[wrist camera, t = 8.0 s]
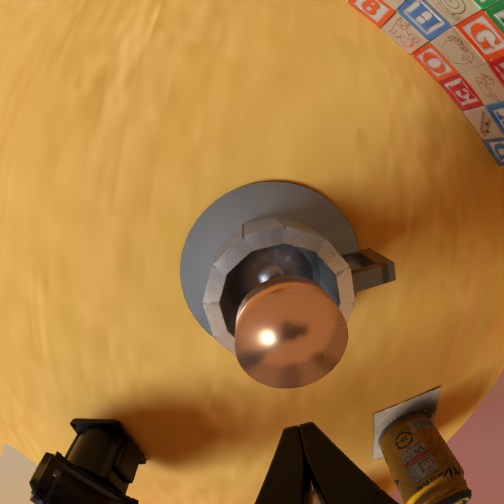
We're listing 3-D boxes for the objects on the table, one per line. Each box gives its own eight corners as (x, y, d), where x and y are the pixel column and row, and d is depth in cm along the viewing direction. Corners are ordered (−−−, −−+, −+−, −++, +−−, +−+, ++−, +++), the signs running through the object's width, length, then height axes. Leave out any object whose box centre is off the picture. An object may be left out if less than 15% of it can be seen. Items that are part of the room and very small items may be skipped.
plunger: (245, 320, 20) (247, 401, 12) (226, 251, 18) (213, 303, 11) (317, 303, 19) (356, 374, 11) (303, 232, 18) (345, 270, 10)
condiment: (372, 458, 25) (405, 540, 13) (373, 412, 23) (421, 511, 12) (429, 435, 25) (472, 505, 13) (438, 385, 23) (500, 463, 11)
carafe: (231, 339, 20) (228, 378, 16) (199, 233, 19) (185, 250, 14) (371, 303, 20) (399, 332, 16) (356, 196, 18) (387, 201, 14)
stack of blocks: (518, 124, 17) (614, 120, 5) (497, 167, 18) (608, 177, 6) (353, -45, 14) (403, -131, 2) (313, -19, 15) (357, -127, 3)
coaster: (211, 366, 21) (210, 369, 21) (159, 208, 19) (157, 209, 18) (366, 328, 21) (368, 330, 20) (341, 164, 18) (343, 164, 18)
